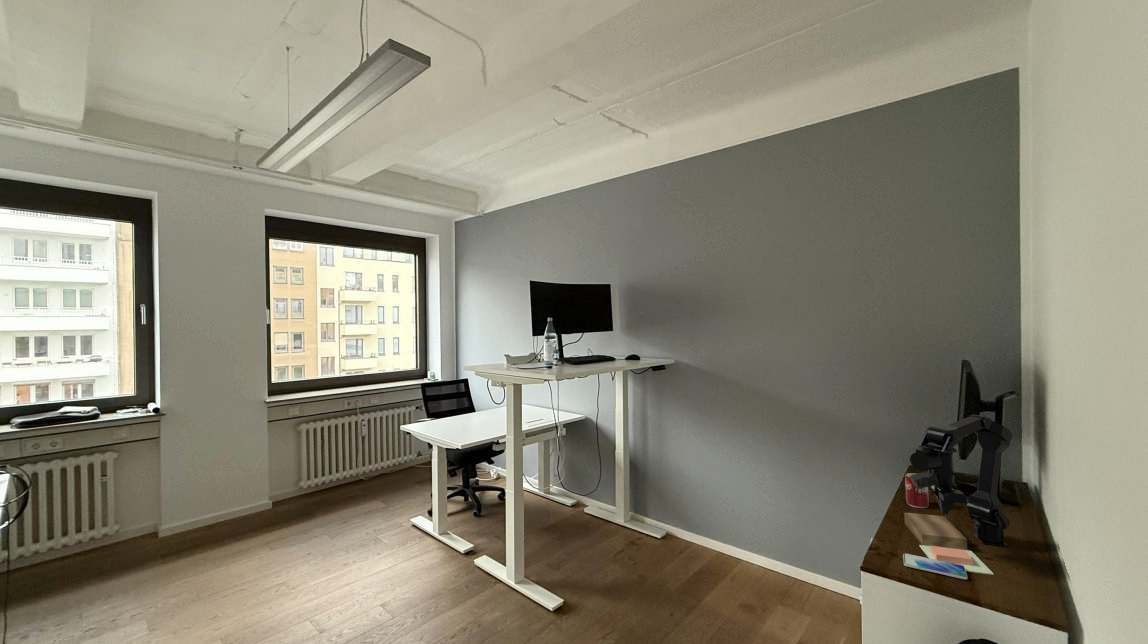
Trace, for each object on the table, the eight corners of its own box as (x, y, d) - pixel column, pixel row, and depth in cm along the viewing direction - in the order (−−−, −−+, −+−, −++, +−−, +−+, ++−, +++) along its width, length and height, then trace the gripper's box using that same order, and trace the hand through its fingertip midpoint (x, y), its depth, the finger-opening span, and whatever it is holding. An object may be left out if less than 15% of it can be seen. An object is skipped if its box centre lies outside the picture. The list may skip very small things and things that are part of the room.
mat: (971, 551, 145) (971, 550, 145) (993, 574, 132) (993, 573, 132) (919, 545, 150) (919, 544, 150) (936, 567, 137) (936, 566, 137)
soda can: (931, 505, 180) (930, 476, 181) (924, 510, 176) (923, 480, 176) (910, 500, 186) (909, 471, 187) (903, 504, 182) (902, 475, 182)
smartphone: (903, 552, 144) (964, 565, 135) (903, 555, 144) (964, 568, 135) (903, 563, 138) (968, 578, 129) (903, 566, 138) (968, 580, 129)
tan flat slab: (944, 527, 162) (943, 516, 162) (967, 551, 145) (966, 539, 145) (904, 523, 166) (904, 512, 166) (922, 546, 150) (922, 534, 150)
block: (972, 559, 136) (972, 565, 136) (964, 549, 142) (964, 556, 142) (936, 554, 140) (936, 560, 140) (929, 545, 145) (930, 551, 145)
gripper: (902, 456, 157) (904, 500, 157) (923, 474, 139) (926, 523, 139) (941, 458, 153) (943, 503, 153) (967, 476, 136) (970, 528, 135)
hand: (944, 514), depth 145 cm, fingers closed
